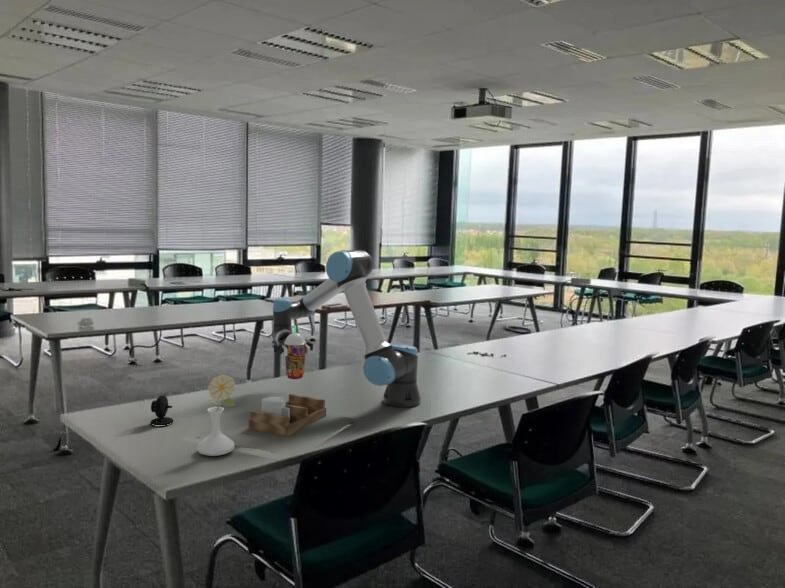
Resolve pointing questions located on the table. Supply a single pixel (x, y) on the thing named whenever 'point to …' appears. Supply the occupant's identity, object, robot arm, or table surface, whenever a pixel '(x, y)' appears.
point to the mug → (275, 406)
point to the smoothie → (295, 355)
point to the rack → (300, 416)
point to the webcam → (161, 411)
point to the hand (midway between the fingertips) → (297, 351)
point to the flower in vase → (218, 418)
